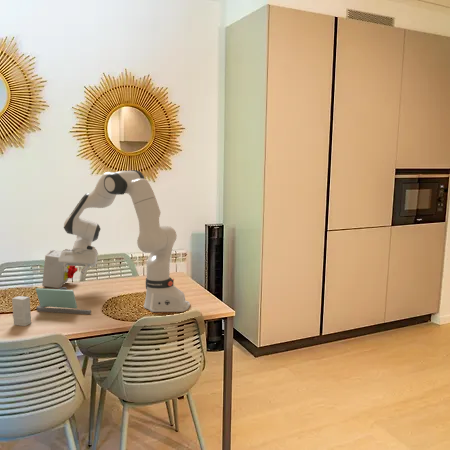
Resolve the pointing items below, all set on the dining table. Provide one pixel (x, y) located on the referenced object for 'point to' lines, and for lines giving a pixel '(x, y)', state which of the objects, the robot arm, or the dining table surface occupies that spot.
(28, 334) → the dining table surface
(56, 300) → the cover
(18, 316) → the skincare box
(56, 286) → the electrical switch box
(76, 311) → the grey flat board
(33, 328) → the dining table surface
